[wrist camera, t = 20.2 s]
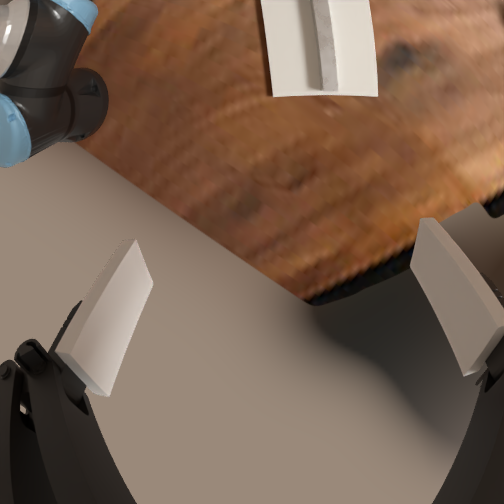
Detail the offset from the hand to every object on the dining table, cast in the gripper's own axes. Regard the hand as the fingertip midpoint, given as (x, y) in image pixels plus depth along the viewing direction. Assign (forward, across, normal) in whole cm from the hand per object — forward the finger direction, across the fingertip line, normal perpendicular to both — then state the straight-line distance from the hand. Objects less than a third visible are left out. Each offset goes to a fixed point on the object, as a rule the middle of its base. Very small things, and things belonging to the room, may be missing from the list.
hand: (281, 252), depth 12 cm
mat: (+39, +10, +17) cm, 44 cm away
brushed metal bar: (+38, +10, +17) cm, 43 cm away
